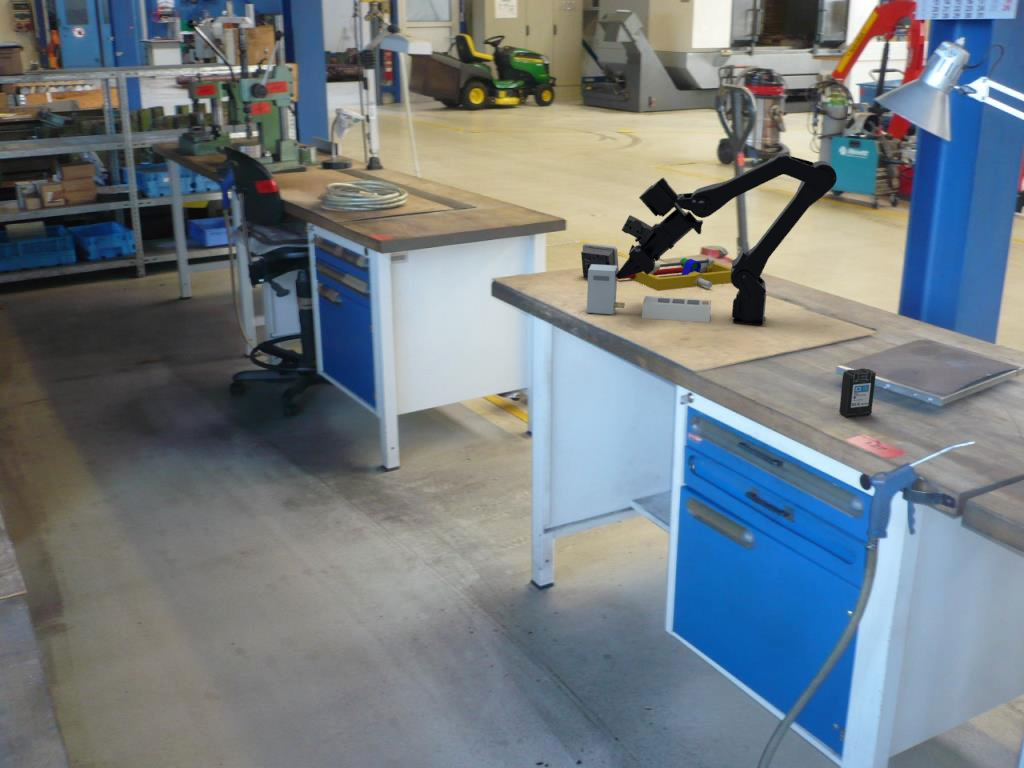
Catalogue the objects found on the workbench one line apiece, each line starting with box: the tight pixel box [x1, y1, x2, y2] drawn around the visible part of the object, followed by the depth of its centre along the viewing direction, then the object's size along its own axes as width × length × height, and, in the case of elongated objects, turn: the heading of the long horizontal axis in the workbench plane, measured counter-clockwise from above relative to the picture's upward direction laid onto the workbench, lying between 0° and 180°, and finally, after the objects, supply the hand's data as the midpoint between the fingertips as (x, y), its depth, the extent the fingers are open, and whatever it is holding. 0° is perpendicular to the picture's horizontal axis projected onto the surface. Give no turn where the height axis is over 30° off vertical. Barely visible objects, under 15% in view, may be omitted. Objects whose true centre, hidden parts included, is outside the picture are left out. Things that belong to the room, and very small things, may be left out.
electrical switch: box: [580, 243, 620, 280], centre depth 273 cm, size 9×5×9 cm, turn 63°
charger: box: [586, 264, 626, 315], centre depth 243 cm, size 8×6×10 cm
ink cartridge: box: [839, 368, 877, 419], centre depth 183 cm, size 5×2×8 cm, turn 105°
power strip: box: [641, 295, 712, 323], centre depth 246 cm, size 15×17×4 cm
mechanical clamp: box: [620, 257, 732, 292], centre depth 272 cm, size 18×6×30 cm
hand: (617, 277), depth 242 cm, fingers closed, pressing on charger
